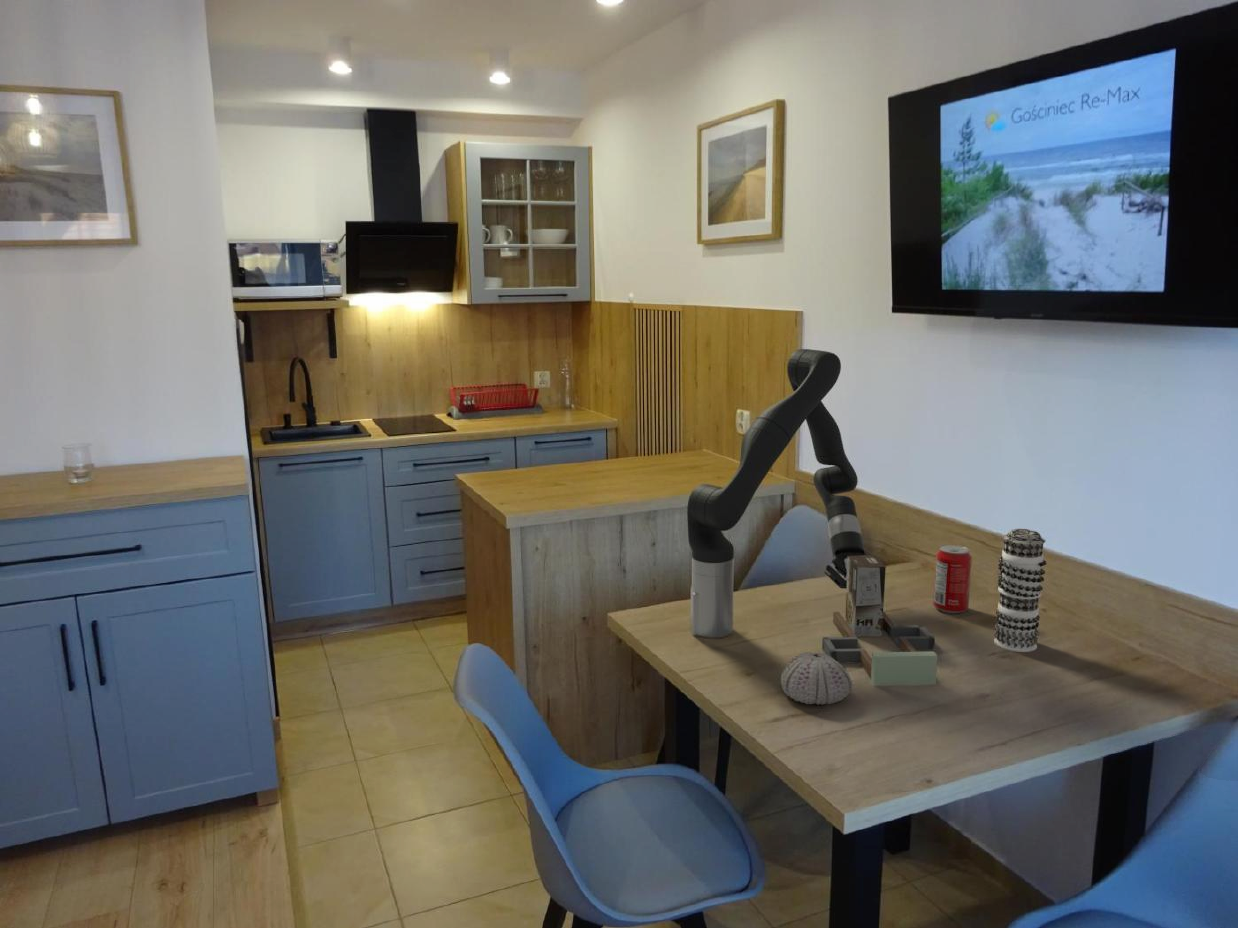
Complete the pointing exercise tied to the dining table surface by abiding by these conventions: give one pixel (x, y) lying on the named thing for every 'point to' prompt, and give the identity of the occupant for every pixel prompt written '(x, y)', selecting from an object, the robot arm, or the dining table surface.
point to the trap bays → (848, 652)
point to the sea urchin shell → (815, 679)
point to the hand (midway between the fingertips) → (857, 603)
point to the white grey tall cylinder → (1019, 590)
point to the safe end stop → (903, 668)
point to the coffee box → (865, 595)
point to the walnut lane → (864, 656)
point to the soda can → (952, 579)
